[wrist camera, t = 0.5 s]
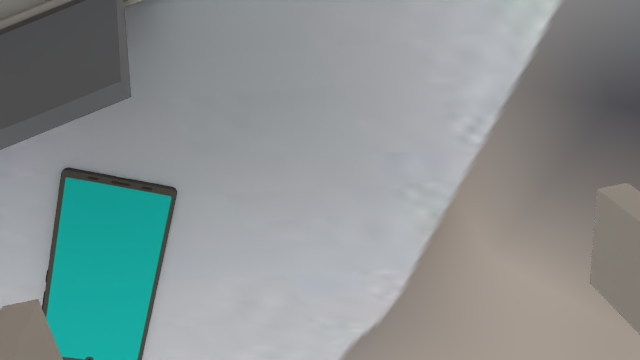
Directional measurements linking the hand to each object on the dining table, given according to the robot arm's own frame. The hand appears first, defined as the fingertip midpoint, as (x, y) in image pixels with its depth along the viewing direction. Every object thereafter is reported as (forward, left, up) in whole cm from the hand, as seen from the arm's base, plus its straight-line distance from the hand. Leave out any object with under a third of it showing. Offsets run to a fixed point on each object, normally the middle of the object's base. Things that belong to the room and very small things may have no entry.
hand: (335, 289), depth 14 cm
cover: (-6, -12, -17) cm, 21 cm away
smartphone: (+10, -16, -27) cm, 33 cm away
